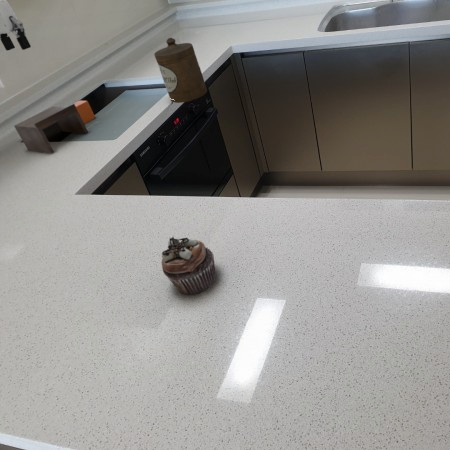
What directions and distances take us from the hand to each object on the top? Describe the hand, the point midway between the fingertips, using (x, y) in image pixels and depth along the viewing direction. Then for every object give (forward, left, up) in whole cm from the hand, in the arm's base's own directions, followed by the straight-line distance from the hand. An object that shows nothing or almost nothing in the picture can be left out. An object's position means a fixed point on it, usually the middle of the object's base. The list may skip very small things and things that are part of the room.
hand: (18, 48), depth 161 cm
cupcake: (+113, -52, -31) cm, 128 cm away
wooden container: (+38, +34, -31) cm, 59 cm away
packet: (+6, +6, -30) cm, 31 cm away
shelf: (+11, -9, -30) cm, 33 cm away
